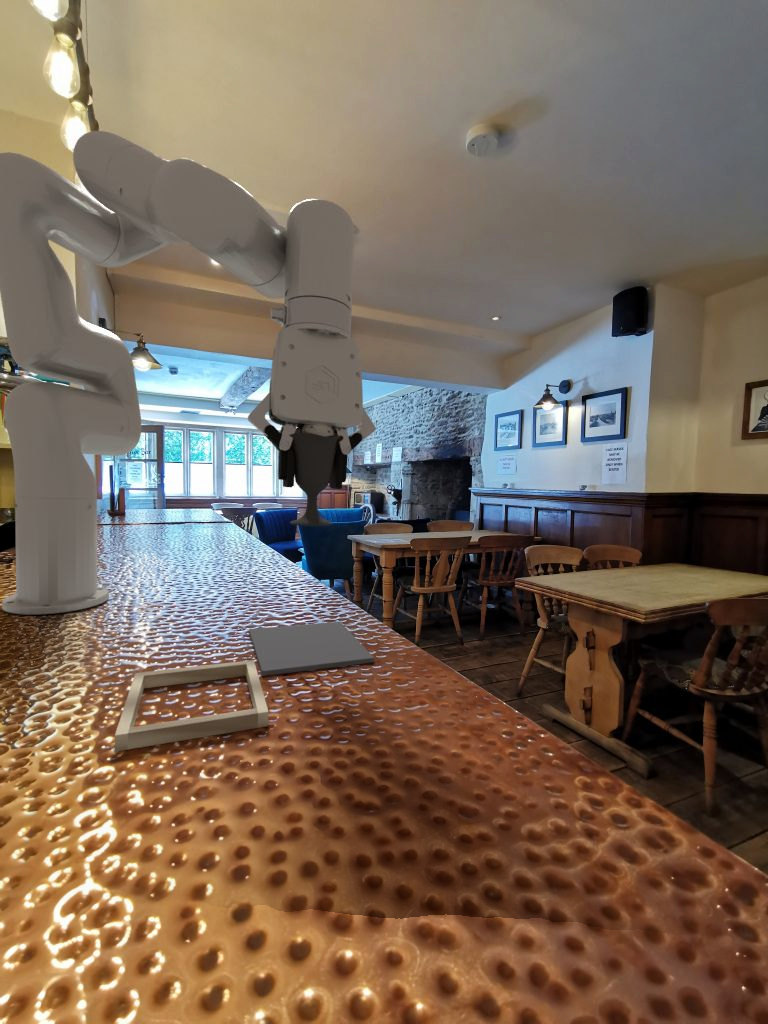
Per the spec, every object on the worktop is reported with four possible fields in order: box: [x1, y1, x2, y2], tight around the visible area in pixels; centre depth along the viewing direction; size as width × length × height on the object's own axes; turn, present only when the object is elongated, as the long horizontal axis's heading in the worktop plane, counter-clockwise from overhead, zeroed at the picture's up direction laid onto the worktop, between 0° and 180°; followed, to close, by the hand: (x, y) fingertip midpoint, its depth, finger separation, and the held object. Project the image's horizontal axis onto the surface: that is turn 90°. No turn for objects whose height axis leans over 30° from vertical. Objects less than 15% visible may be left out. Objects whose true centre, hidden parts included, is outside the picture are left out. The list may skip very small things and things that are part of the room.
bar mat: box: [248, 621, 375, 677], centre depth 52 cm, size 13×12×1 cm
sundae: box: [289, 424, 343, 527], centre depth 51 cm, size 7×7×15 cm
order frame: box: [114, 659, 269, 753], centre depth 38 cm, size 11×11×1 cm
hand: (312, 486), depth 51 cm, fingers closed on sundae, 4 cm apart
